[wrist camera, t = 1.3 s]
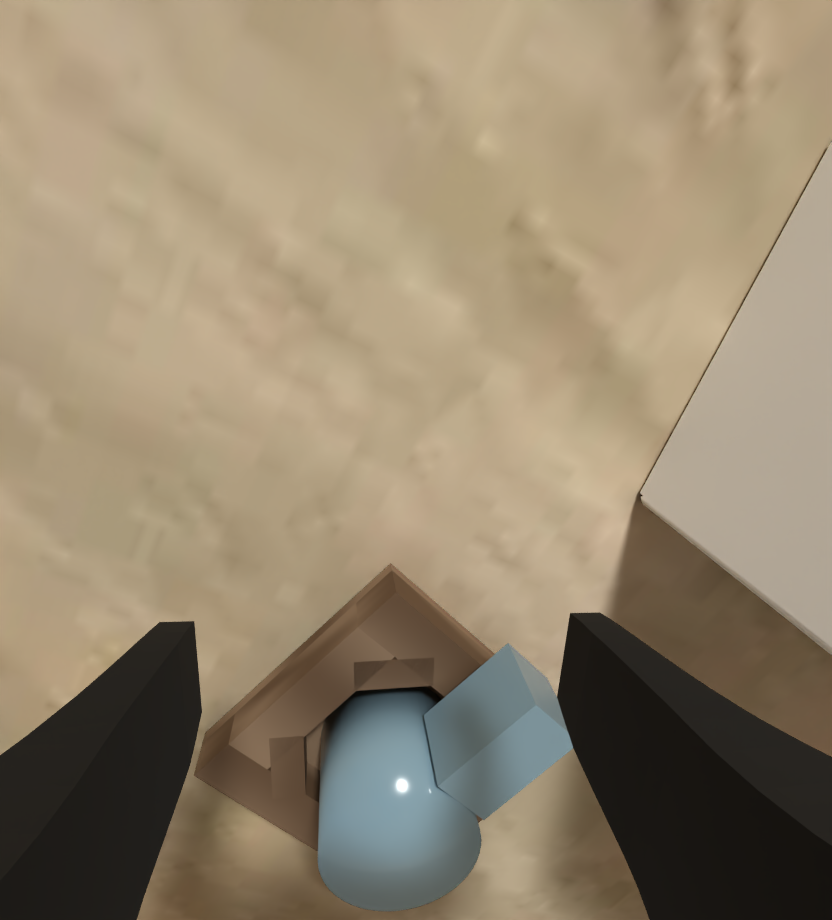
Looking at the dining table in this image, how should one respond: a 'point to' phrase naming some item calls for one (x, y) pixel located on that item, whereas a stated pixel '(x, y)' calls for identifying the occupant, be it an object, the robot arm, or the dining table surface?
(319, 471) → the dining table surface
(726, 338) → the gable box
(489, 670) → the light blue piece
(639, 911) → the dining table surface
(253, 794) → the holder
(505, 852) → the dining table surface
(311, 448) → the dining table surface
